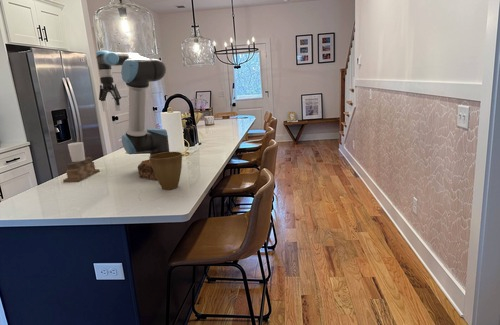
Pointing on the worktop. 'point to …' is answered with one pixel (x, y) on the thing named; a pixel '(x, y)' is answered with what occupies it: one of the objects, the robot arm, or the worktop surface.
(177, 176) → the plant pot
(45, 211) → the worktop surface
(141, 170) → the bread
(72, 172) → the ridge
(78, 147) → the white cup
